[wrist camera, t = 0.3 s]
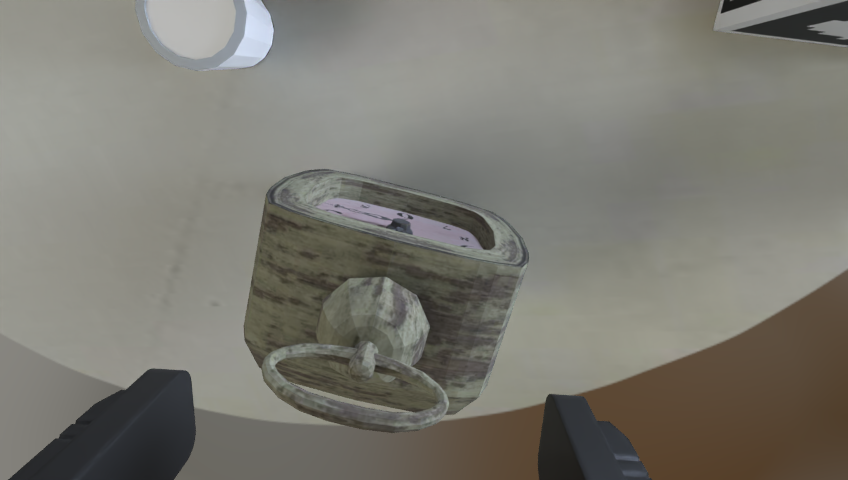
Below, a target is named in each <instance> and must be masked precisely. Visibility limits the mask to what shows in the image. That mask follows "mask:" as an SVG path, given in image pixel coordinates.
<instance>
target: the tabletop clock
mask: <svg viewBox="0 0 848 480" xmlns="http://www.w3.org/2000/svg"><path fill="white" fill-rule="evenodd" d="M528 260H529V253H528V251H527V248H526V246H525V243H524V241H523V239H522V238H521V236H520V235H519V234H518V233H517V232H516V231H515V230H514V228H513V227H512V226H511V225H510V224H509V223H508V222H506V221H505V220H504V219H503V218H501V217H499V216H498V215H496V214H494V213H493V212H490V211H487V210H484V209H481V208H478V207H475V206H472V205H469V204H465V203H462V202H458V201H455V200H451V199H448V198H444V197H440V196H437V195H433V194H429V193H426V192H422V191H418V190H415V189H411V188H407V187H403V186H399V185H395V184H391V183H387V182H383V181H379V180H375V179H371V178H367V177H363V176H358V175H354V174H349V173H345V172H339V171H334V170H329V169H318V170H309V171H303V172H300V173H297V174H294V175H291V176H288V177H285V178H283V179H282V180H281V181H279V182H278V183H276V184H275V185H273V186H272V187H271V188H270V189H269V190H268V192H267V194H266V199H265V205H264V211H263V217H262V222H261V228H260V234H259V240H258V246H257V252H256V258H255V263H254V269H253V275H252V281H251V287H250V293H249V299H248V304H247V310H246V316H245V322H244V337H245V342H246V344H247V346H248V347H249V349H250V351H251V353H252V355H253V357H254V359H255V361H256V362H257V364H258V366H259V368H261V370H262V374H263V379H264V382H265V383H266V384H267V385H268V387H269V388H270V389H271V390H272V391H273V392H274V393H275V394H276V395H277V397H278V398H280V399H281V400H283V401H285V402H286V403H288V404H289V405H291V406H293V407H294V408H296V409H297V410H299V411H301V412H304V413H307V414H310V415H312V416H315V417H318V418H321V419H323V420H326V421H329V422H334V423H338V424H342V425H346V426H350V427H355V428H359V429H364V430H373V431H381V432H390V433H395V432H396V433H397V432H408V431H418V430H420V429H423V428H426V427H429V426H431V425H434V424H436V423H438V422H439V421H440V420H441V419H442V418H443V417H444V415H453V414H456V413H457V412H459V411H460V410H461V409H463V408H464V407H466V406H467V405H468V404H470V403H471V402H473V401H474V400H476V399H477V398H478V397H479V396H480V395H481V393H482V392H483V390H484V389H485V387H486V386H487V383H488V380H489V377H490V374H491V371H492V368H493V365H494V363H495V360H496V357H497V354H498V351H499V348H500V345H501V342H502V339H503V336H504V333H505V330H506V327H507V324H508V321H509V318H510V315H511V312H512V309H513V306H514V303H515V300H516V297H517V294H518V291H519V288H520V285H521V282H522V279H523V276H524V273H525V270H526V267H527V264H528ZM290 382H292V383H295V384H299V385H303V386H306V387H310V388H313V389H317V390H321V391H324V392H328V393H332V394H335V395H339V396H343V397H346V398H350V399H354V400H358V401H363V402H368V403H372V404H377V405H382V406H387V407H392V408H397V409H402V410H406V411H411V412H388V411H382V410H376V409H370V408H365V407H360V406H356V405H352V404H348V403H344V402H340V401H335V400H332V399H329V398H326V397H323V396H320V395H317V394H313V393H310V392H308V391H306V390H304V389H302V388H300V387H298V386H296V385H294V384H292V383H290Z"/></svg>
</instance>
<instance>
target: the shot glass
mask: <svg viewBox="0 0 848 480" xmlns="http://www.w3.org/2000/svg"><path fill="white" fill-rule="evenodd" d="M135 11H136V14H137V17H138V21H139V24H140V27H141V31H142V33H143V35H144V36H145V38H146V39H147V40H148V42H149V43H150V45H151V46H152V47H153V49H154V50H155V51H156V53H158V54H159V55H160V56H162V57H163V58H165V59H166V60H168V61H169V62H171V63H172V64H173V65H175V66H178V67H182V68H187V69H191V70H195V71H204V70H226V69H241V68H247V67H252V66H254V65H256V64H257V63H258V62H260V61H261V60H263V59H264V58H265V56H266V55H267V53H268V51H269V49H270V48H271V46H272V40H273V33H274V28H273V24H272V20H271V15H270V13H269V12H268V10H267V9H266V7H265V5H264V4H263V2H262V1H261V0H136V6H135Z"/></svg>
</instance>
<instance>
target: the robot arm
mask: <svg viewBox="0 0 848 480" xmlns="http://www.w3.org/2000/svg"><path fill="white" fill-rule="evenodd" d="M195 435H196V427H195V416H194V405H193V394H192V383H191V377H190V374H189V373H188V372H187V371H184V370H168V369H149V370H148V371H146V372H145V373H144V374H143V375H142V376H141V377H140V378H138V379H137V380H136V381H135V382H134V383H133V384H132V385H131V386H130V387H129V388H128V389H126V390H120V391H118V392H116V393H115V394H113V395H111V396H109V397H107V398H105V399H103V400H101V401H99V402H98V403H96V404H94V405H93V406H92V407H91V408H90V409H89V410H88V411H86V412H85V413H84V414H83V415H82V416H81V417H80V418H78V419H77V420H76V423H75V424H72V425H70V426H69V427H68V428H67V429H66V430H65V431H63V432H62V433H61V434H60V437H59V438H58V439H54V440H53V441H52V442H51V443H50V444H49V445H47V446H46V447H45V448H44V449H43V450H42V451H41V452H39V453H38V454H37V455H36V456H35V457H34V458H33V459H31V460H30V461H29V462H28V463H27V464H26V465H25V466H23V467H22V468H21V469H20V470H19V471H18V472H17V473H16V474H14V475H13V476H12V477H11V478H10V479H9V480H174V479H175V477H176V476H177V474H178V473H179V471H180V470H181V469H182V467H183V466H184V464H185V463H186V461H187V460H188V458H189V456H190V454H191V451H192V449H193V446H194V441H195ZM538 471H539V480H652V479H651V478H649V477H648V472H647V470H646V469H645V467H644V465H643V463H642V462H641V461H639V457H638V455H637V453H636V451H635V450H634V448H633V446H632V444H631V442H630V441H629V439H628V438H627V437H626V436H625V435H624V434H622V433H621V432H620V431H619V430H618V429H617V428H616V427H615V426H613V425H612V424H611V423H610V422H607V421H597V420H596V419H595V417H594V415H593V413H592V411H591V409H590V407H589V405H588V403H587V401H586V399H585V398H584V397H583V396H571V395H555V394H549V395H548V396H547V399H546V403H545V410H544V417H543V424H542V431H541V439H540V446H539V453H538Z"/></svg>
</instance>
